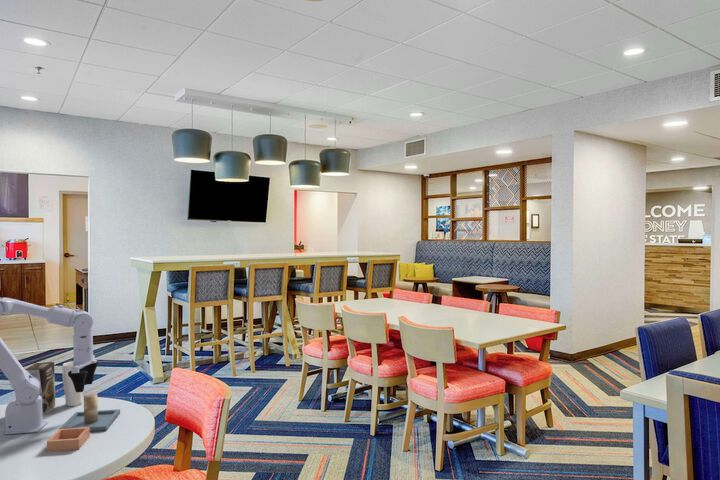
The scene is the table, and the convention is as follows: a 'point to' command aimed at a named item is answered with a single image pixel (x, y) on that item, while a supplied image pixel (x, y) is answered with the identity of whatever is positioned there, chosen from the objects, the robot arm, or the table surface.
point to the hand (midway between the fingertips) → (84, 387)
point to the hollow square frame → (68, 439)
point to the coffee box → (45, 383)
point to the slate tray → (101, 425)
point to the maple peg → (90, 408)
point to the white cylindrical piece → (70, 387)
